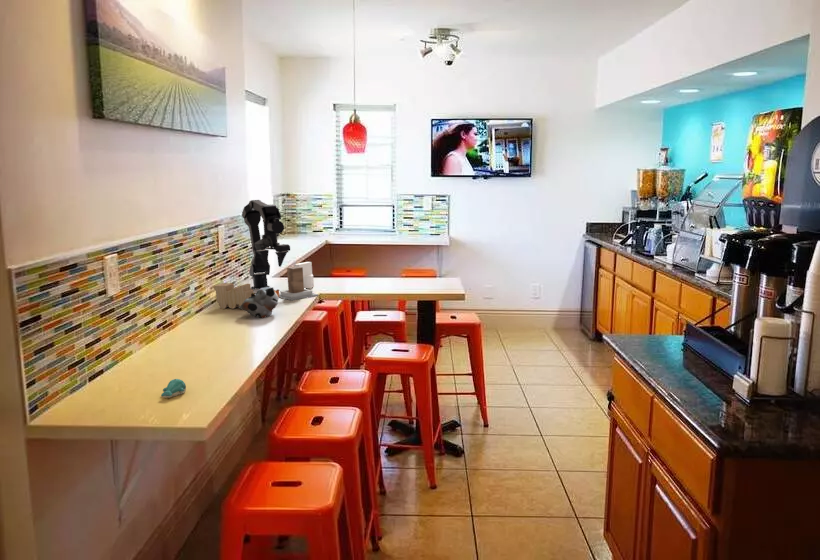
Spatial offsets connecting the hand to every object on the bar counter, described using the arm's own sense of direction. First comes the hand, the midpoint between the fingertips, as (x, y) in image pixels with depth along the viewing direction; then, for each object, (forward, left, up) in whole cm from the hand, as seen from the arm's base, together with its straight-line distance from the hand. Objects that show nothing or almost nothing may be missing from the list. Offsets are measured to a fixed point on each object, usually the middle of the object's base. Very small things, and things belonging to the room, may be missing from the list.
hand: (272, 266), depth 295 cm
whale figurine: (+78, -111, -13) cm, 137 cm away
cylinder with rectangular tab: (+2, +18, -13) cm, 22 cm away
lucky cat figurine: (+28, -35, -13) cm, 47 cm away
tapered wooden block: (+14, 0, -12) cm, 19 cm away
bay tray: (+14, 0, -13) cm, 19 cm away
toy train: (+8, -30, -13) cm, 34 cm away
